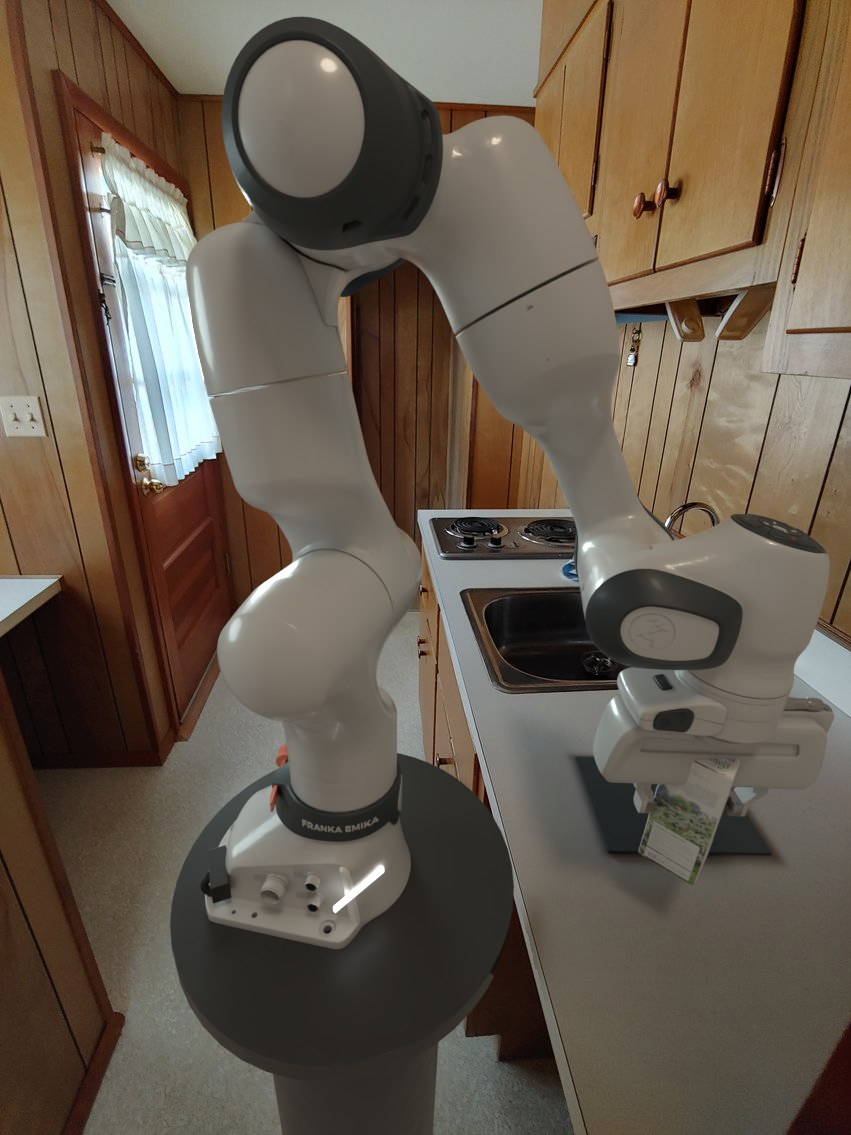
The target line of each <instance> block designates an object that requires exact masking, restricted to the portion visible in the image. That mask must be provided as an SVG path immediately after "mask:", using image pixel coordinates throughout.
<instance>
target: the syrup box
mask: <svg viewBox="0 0 851 1135" xmlns="http://www.w3.org/2000/svg"><path fill="white" fill-rule="evenodd" d="M739 760H740V759H706V760H697V761H693V762H692V765H691V768H690V772H689V776H688V780H687V782H686V783H685V784H684V785H667V784H658V786H657V789H656V792H655V795H654V796H655V798H656V800H657V806H656V807H655V808H654V809H655V812H654V813H649V816H648V820H647V823H646V827H645V830H644V834H643V837H642V841H641V844H640V847H639V853H638V854H639V855H641V856H643V858H645V859H647V860H649V861H651V862H652V863H654V864H656V865H657V866H659V867H661V868H662V869H664V870H666V871H667V872H669V873H671V874H672V875H674V876H676V877H677V878H678V879H680V880H681V881H683V882H685V883H687V884H688V885H691V886H693V887H694V886H695V885H696V883H697V880H698V878H699V876H700V873H701V872H702V869H703V867H704V865H705V862H706V860H707V857H708V855H709V854H708V853H709V850H710V847H711V845H712V841H713V838H714V835H715V832H716V829H717V826H718V824H719V821H720V818H721V815H722V813H723V810H724V807H725V805H726V802H727V800H728V797H729V794H730V792H731V791H732V789H733V787H732V784H733V781H734V779H735V776H736V773H737V771H738V768H739V765H740V762H739Z"/></svg>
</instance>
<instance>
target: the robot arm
mask: <svg viewBox="0 0 851 1135" xmlns="http://www.w3.org/2000/svg"><path fill="white" fill-rule="evenodd" d="M221 103H222V104H221V130H222V131H221V132H222V138H223V145H224V150H225V154H226V158H227V162H228V164H229V166H230V170H231V172H232V174H233V177H234V180H235V181H236V183H237V186H238V187H239V190H240V191H241V193H242V195H243V196H244V198H245V200H246V201H247V203H248V204H249V206H250V208H251V209H252V210H251V211H250V213H249V214H247V216H245V217H244V218H242V221H237V222H233V223H228V224H225V225H221V226H220V227H217V228H215V229H214V230H212V231H210V232H208V233H207V234H206V235H204V236H203V237H202V238H200V239H199V240H198V241H197V242H196V243H195V244H194V246H192V248H191V251H190V252H189V254H188V257H187V259H186V265H185V284H186V293H187V295H186V296H187V303H188V310H189V317H190V324H191V330H192V336H193V341H194V347H195V352H196V356H197V360H198V365H199V368H200V373H201V377H202V380H203V384H204V387H205V391H206V395H207V397H208V398H209V399H208V402H209V405H210V409H211V412H212V416H213V419H214V422H215V426H216V428H217V432H218V434H219V439H220V442H221V445H222V449H223V453H224V455H225V458H226V462H227V465H228V468H229V471H230V475H231V479H232V482H233V485H234V488H235V490H236V492H237V493H238V495H239V496H240V498H241V499H242V500H243V501H244V502H245V503H247V504H248V505H249V506H251V507H253V508H255V509H257V510H259V511H262V512H265V513H268V515H269V516H270V517H271V518H272V519H273V520H274V521H275V522H276V524H277V525H278V527H279V528H280V531H282V533H283V535H284V538H286V540H287V542H288V544H289V547H290V549H291V554H292V562H291V563H290V564H289V565H287V566H286V567H284V568H283V569H281V570H280V571H279V572H277V573H276V574H274V575H273V576H271V577H269V578H268V579H267V580H265V581H264V582H263V583H261V584H260V585H258V586H257V587H256V588H255V589H254V590H253V591H252V592H251V593H250V595H248V597H247V598H246V599H245V600H244V601H243V602H242V604H240V606H238V608H237V610H236V611H235V612H234V613H233V615H232V616H231V617H230V619H229V620H228V621H227V622H226V624H225V625H224V627H223V628H222V630H221V631H220V634H219V636H218V639H217V645H216V656H217V663H218V667H219V671H220V674H221V677H222V679H223V680H224V683H225V684H226V686H227V688H228V689H229V692H230V693H231V694H232V695H233V697H235V699H236V700H237V701H238V702H239V703H240V704H241V705H243V706H244V707H245V708H246V709H248V710H250V711H251V712H253V713H255V714H256V715H258V716H261V717H263V718H265V719H268V720H272V721H275V722H281V725H282V727H283V731H284V738H285V743H284V744H282V745H281V746H280V747H279V749H278V751H277V752H278V753H277V757H276V758H275V764H276V766H277V767H278V768H279V769H278V768H276V769H277V770H276V769H275V770H276V772H275V774H274V776H273V780H272V785H271V786H269V787H267V788H264V789H262V790H260V791H258V792H256V793H255V794H254V795H253V796H252V797H251V798H250V799H249V800H248V801H247V803H246V804H245V805H244V807H243V809H242V810H241V812H240V814H239V816H238V818H237V820H236V821H235V822H234V823H233V824H232V826H231V827H230V828H229V830H228V831H227V832H226V834H225V836H224V837H223V839H222V841H221V843H220V845H219V847H217V848H214V849H210V850H208V855H209V872H208V873H207V874H206V875H205V877H204V878H203V879H202V881H201V884H200V888H201V890H202V892H203V893H204V894H205V905H206V912H207V915H208V918H209V920H210V921H212V922H214V923H218V924H222V925H227V926H231V927H236V928H240V929H245V930H249V931H254V932H258V933H263V934H267V935H272V936H276V937H281V938H285V939H290V940H294V941H299V942H303V943H308V944H312V945H317V946H321V947H326V948H330V949H336V950H337V949H342V948H344V947H345V946H347V945H348V944H349V943H350V942H351V941H352V940H353V938H354V937H355V936H356V935H357V933H358V932H359V931H360V929H361V928H362V927H363V926H364V925H365V924H366V923H368V922H369V921H371V920H372V919H374V918H376V917H377V916H379V915H381V914H382V913H383V912H385V911H386V910H387V909H388V908H390V907H391V906H392V905H393V904H394V903H395V902H396V900H397V899H398V898H399V897H400V895H401V894H402V892H403V890H404V888H405V886H406V884H407V882H408V879H409V875H410V870H411V856H410V851H409V848H408V845H407V843H406V841H405V838H404V835H403V832H402V827H401V823H400V811H401V808H402V775H401V768H400V763H399V760H398V758H397V753H398V710H397V705H396V703H395V701H394V699H393V697H392V696H391V695H390V693H389V692H388V691H387V690H385V689H384V688H383V687H382V686H380V685H379V684H378V681H377V673H378V672H377V671H378V664H379V661H380V657H381V655H382V651H383V649H384V646H385V644H386V643H387V641H388V639H389V638H390V636H391V635H392V634H393V632H394V631H395V630H396V629H397V627H398V626H399V624H400V623H401V622H402V621H403V619H404V618H405V616H406V615H407V614H408V613H409V612H410V610H411V609H412V607H413V605H414V602H415V600H416V596H417V594H418V591H419V588H420V584H421V580H422V576H423V560H422V554H421V553H420V550H419V548H418V546H417V545H416V543H415V541H414V540H413V538H412V537H411V536H410V535H409V534H408V533H406V531H404V530H403V529H402V528H400V527H399V526H398V525H397V524H396V522H395V520H394V518H393V515H392V514H391V511H390V510H389V508H388V506H387V504H386V502H385V500H384V497H383V495H382V493H381V491H380V488H379V486H378V484H377V481H376V479H375V478H376V477H375V476H374V473H373V470H372V466H371V464H370V461H369V457H368V454H367V448H366V445H365V440H364V436H363V432H362V428H361V427H362V426H361V423H360V419H359V414H358V410H357V409H358V408H357V405H356V399H355V396H354V392H353V387H352V383H351V378H350V374H349V372H348V371H349V369H348V364H347V360H346V355H345V351H344V346H343V343H342V336H341V332H340V325H339V324H340V323H339V301H340V298H346V297H347V298H348V297H350V296H353V295H354V294H355V293H357V292H359V291H360V290H362V289H363V288H365V287H367V286H368V285H370V284H371V283H373V282H375V281H376V280H378V279H380V278H382V277H384V276H386V275H388V274H389V273H391V272H392V271H394V270H395V269H397V268H398V267H399V266H400V265H401V264H403V263H404V262H405V261H408V262H410V263H412V264H413V265H415V266H416V267H418V269H419V270H421V272H422V273H423V274H424V275H425V276H426V278H427V279H428V280H429V282H430V284H431V286H432V287H433V290H434V291H435V292H436V294H437V297H438V298H439V301H440V303H441V306H442V308H443V310H444V312H445V315H446V317H447V320H448V322H449V325H450V328H451V329H452V333H453V334H454V336H455V339H456V341H457V343H458V346H459V348H460V351H461V352H462V355H463V357H464V359H465V361H466V363H467V365H468V367H469V369H470V371H471V372H472V374H473V377H474V378H475V379H476V381H477V383H478V385H479V386H480V387H481V390H482V391H483V393H484V394H485V395H486V397H487V399H488V400H489V402H490V403H491V404H492V406H493V407H494V408H495V410H496V412H497V413H498V414H499V415H500V416H501V417H502V418H503V419H504V420H506V421H508V422H510V423H511V424H513V425H515V426H517V427H518V428H520V429H521V430H523V431H525V433H527V434H528V435H530V436H531V437H532V439H534V440H535V442H536V443H537V444H538V445H539V447H540V448H541V450H542V451H543V452H544V454H545V456H546V458H547V460H548V461H549V463H550V465H551V469H552V472H553V473H554V475H555V479H556V480H557V483H558V485H559V487H560V489H561V492H562V495H563V497H564V499H565V502H566V504H567V507H568V509H569V511H570V513H571V515H572V518H573V524H574V527H575V537H574V538H575V539H574V548H573V549H574V550H573V565H574V570H575V571H574V572H575V573H576V577H577V580H578V583H579V585H578V586H579V589H580V590H579V591H580V597H581V604H582V611H583V617H584V621H585V628H586V632H587V634H588V636H589V638H590V640H591V641H592V643H593V645H594V646H595V647H596V648H597V649H598V650H599V651H600V652H601V654H603V655H604V656H605V657H607V658H608V659H610V660H611V661H613V662H616V663H618V664H620V665H622V666H627V668H624V669H623V670H621V671H620V672H619V673H618V675H617V679H616V686H617V689H618V692H619V694H617V695H616V696H614V697H612V698H611V700H610V701H609V702H608V703H607V705H606V706H605V708H604V709H603V711H602V715H601V718H600V721H599V723H598V726H597V730H596V731H595V732H596V733H595V736H594V741H593V746H592V755H593V757H594V758H595V761H596V764H597V767H598V769H599V771H600V773H601V774H602V775H603V777H604V778H605V779H606V780H607V781H608V782H612V783H633V784H634V786H635V788H636V791H635V794H634V804H635V807H636V809H637V811H638V813H654V812H655V809H654V808H655V807H656V806H657V800H656V798H655V796H653V792H652V790H651V785H652V784H667V785H684V784H685V783H686V782H687V780H688V776H689V772H690V768H691V765H692V762H693V761H697V760H706V759H740V760H739V762H740V765H739V768H738V771H737V773H736V776H735V779H734V781H733V784H732V788H734V789H733V790H731V792H730V794H729V797H728V800H727V802H726V805H725V807H724V809H725V810H726V811H727V814H728V815H729V816H742V817H744V816H745V815H747V813H748V811H749V808H750V806H752V805H754V804H755V803H757V802H758V801H759V800H760V799H762V798H764V797H765V796H766V795H767V794H768V792H769V790H770V789H777V790H778V789H781V790H805V789H807V788H809V787H811V786H812V785H814V783H816V782H817V780H818V778H819V776H820V773H821V770H822V767H823V763H824V759H825V755H826V751H827V743H828V735H827V734H828V733H829V731H830V728H831V726H832V725H833V722H834V719H835V713H834V711H833V709H832V707H831V706H830V705H829V704H827V703H825V702H824V701H823V700H822V699H820V698H818V697H803V698H801V697H795V696H790V694H791V692H792V690H793V686H794V682H795V666H796V662H797V661H798V659H799V657H800V656H801V655H802V654H803V653H804V651H805V650H807V648H808V646H809V644H810V642H811V640H812V637H813V635H814V632H815V630H816V627H817V624H818V621H819V619H820V615H821V612H822V609H823V605H824V602H825V598H826V594H827V589H828V586H829V585H828V584H829V578H830V570H831V562H830V556H829V554H828V553H827V551H826V549H825V548H824V547H823V545H821V544H820V543H819V542H818V541H817V540H816V539H814V538H813V537H812V536H810V535H809V534H808V533H806V532H805V531H802V530H801V529H799V528H796V527H794V526H793V525H790V524H788V523H786V522H784V521H780V520H777V519H774V518H771V517H767V516H763V515H759V514H754V513H734V514H731V515H729V516H727V517H726V518H725V519H723V520H722V521H721V522H719V523H717V524H716V525H714V526H712V527H709V528H707V529H705V530H702V531H700V532H698V533H695V534H692V535H689V536H685V537H682V538H679V539H675V537H674V536H673V534H672V532H671V531H670V529H669V528H668V527H667V526H666V525H665V524H664V523H663V522H662V520H661V519H659V518H658V517H657V516H656V515H655V514H653V513H652V512H651V511H650V510H649V509H648V508H647V507H646V506H645V505H644V504H643V503H642V501H641V499H640V497H639V496H638V493H637V491H636V488H635V485H634V482H633V480H632V477H631V474H630V471H629V469H628V465H627V462H626V460H625V457H624V454H623V451H622V448H621V445H620V442H619V440H618V437H617V434H616V430H615V426H614V419H613V411H612V408H613V407H612V402H613V394H614V389H615V385H616V380H617V377H618V374H619V370H620V366H621V359H622V357H621V356H622V355H621V348H620V346H621V345H620V339H619V332H618V331H619V330H618V325H617V319H616V313H615V308H614V304H613V299H612V295H611V291H610V288H609V284H608V281H607V278H606V274H605V271H604V268H603V265H602V261H601V260H599V259H600V255H599V254H598V251H597V249H596V248H597V247H596V245H595V243H594V240H593V238H592V235H591V232H590V230H589V227H588V225H587V222H586V220H585V218H584V215H583V213H582V211H581V208H580V206H579V204H578V202H577V199H576V198H575V195H574V193H573V191H572V189H571V186H570V184H569V183H568V181H567V178H565V175H564V174H563V173H564V172H563V171H562V170H561V168H560V166H559V164H558V163H557V160H556V159H555V157H554V155H553V153H552V152H551V151H550V149H549V147H548V146H547V143H546V142H545V140H544V138H543V137H542V135H541V134H540V133H539V132H538V130H537V129H536V128H535V127H534V126H533V125H532V124H530V123H529V122H527V121H525V120H524V119H522V118H519V117H517V116H513V115H503V114H502V115H493V116H488V117H484V118H480V119H477V120H474V121H472V122H470V123H468V124H466V125H464V126H462V127H460V128H459V129H457V130H455V131H453V132H451V133H448V134H445V133H444V134H443V128H442V123H441V118H440V113H439V109H438V108H437V106H436V105H435V103H434V102H433V101H432V99H430V98H429V97H427V95H425V94H424V93H423V92H421V91H420V90H419V89H418V88H416V87H415V86H414V85H412V84H411V83H410V82H409V81H408V80H406V79H405V78H404V77H402V76H401V75H400V74H399V73H398V72H396V71H395V70H394V69H393V68H392V67H391V66H390V65H388V63H386V62H385V61H384V60H383V59H382V58H381V57H380V56H379V55H378V54H377V53H375V51H373V50H372V49H371V48H370V47H368V45H366V44H365V43H363V42H362V41H361V40H359V39H358V38H357V37H355V36H354V34H351V33H350V32H348V31H346V30H345V29H344V28H342V27H339V26H338V25H335V24H334V23H331V22H328V21H326V20H324V19H322V18H321V19H320V18H318V17H317V18H316V17H311V16H291V17H286V18H285V17H284V18H281V19H279V20H276V21H274V22H271V23H269V24H267V25H265V26H264V27H263V28H261V29H260V30H258V31H257V32H256V33H254V35H253V36H251V38H249V40H248V41H247V42H246V43H245V44H244V45H243V46H242V48H241V49H240V51H239V53H238V54H237V56H236V57H235V59H234V61H233V63H232V65H231V68H230V71H229V73H228V74H227V78H226V81H225V85H224V90H223V95H222V102H221ZM327 930H330V931H331V932H330V933H329V934H325V933H324V932H325V931H327Z"/></svg>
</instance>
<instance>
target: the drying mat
mask: <svg viewBox="0 0 851 1135" xmlns="http://www.w3.org/2000/svg"><path fill="white" fill-rule="evenodd" d="M574 761H575V763H576V766H577V769H578V772H579V774H580V778H581V780H582V783H583V786H584V789H585V792H586V794H587V795H586V796H587V798H588V800H589V803H590V806H591V809H592V811H593V815H594V817H595V820H596V823H597V825H598V828H599V831H600V835H601V837H602V840H603V843H604V846H605V848H606V852H607V853H608V854H610V853H611V854H615V853H616V854H639V847H640V844H641V841H642V837H643V834H644V830H645V827H646V823H647V820H648V816H649V813H638V811H637V809H636V807H635V804H634V794H635V791H636V788H635V786H634V784H633V783H612V782H608V781H607V780H606V779H605V778H604V777H603V775H602V774H601V773H600V771H599V769H598V767H597V764H596V761H595V758H594V756H579V755H577V756H574ZM657 786H658V784H652V785H651V790H652V792H653V796H654V795H655V792H656V789H657ZM772 854H773V852H772V850H771V849H770V848H769V846H768V845H767V842H765V840H764V839H763V837H762V836H761V834H760V833H759V831H758V830H757V828H756V826H755V825H754V824H753V822H752V820H751V819H750V818H749V816H748V815H747V814H746V815H745V816H744V817H742V816H729V815H728V814H727V811H726V810H725V809H724V810H723V813H722V815H721V818H720V821H719V824H718V826H717V829H716V832H715V835H714V838H713V841H712V845H711V847H710V850H709V853H708V855H730V856H731V855H737V856H740V855H741V856H742V855H743V856H744V855H745V856H771V855H772Z"/></svg>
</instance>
